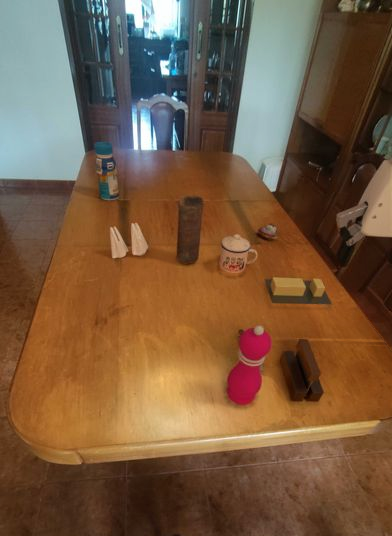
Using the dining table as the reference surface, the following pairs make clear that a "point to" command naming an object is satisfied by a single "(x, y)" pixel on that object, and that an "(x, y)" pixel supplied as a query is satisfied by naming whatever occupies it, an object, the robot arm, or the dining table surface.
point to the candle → (189, 228)
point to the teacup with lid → (235, 254)
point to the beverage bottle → (106, 171)
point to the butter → (287, 286)
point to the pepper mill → (248, 366)
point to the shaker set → (119, 246)
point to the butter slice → (317, 287)
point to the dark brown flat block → (307, 363)
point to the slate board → (304, 299)
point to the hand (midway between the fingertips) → (367, 264)
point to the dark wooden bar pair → (298, 380)
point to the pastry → (268, 232)
